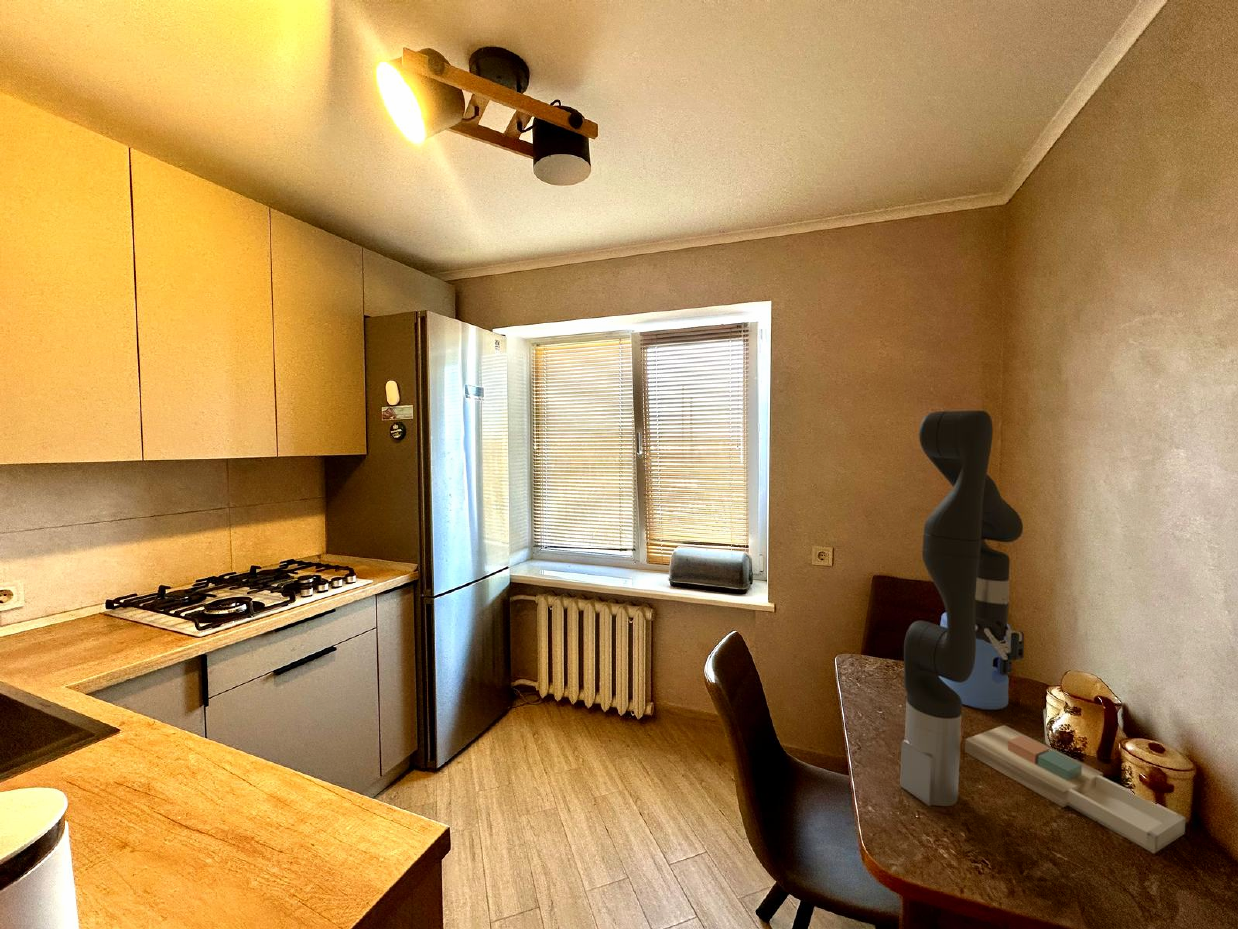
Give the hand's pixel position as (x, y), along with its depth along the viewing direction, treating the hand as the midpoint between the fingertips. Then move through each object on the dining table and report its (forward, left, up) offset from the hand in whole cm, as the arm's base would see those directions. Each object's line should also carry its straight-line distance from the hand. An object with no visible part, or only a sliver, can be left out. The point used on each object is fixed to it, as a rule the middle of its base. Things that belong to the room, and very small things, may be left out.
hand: (984, 666), depth 113 cm
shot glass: (+16, -8, -18) cm, 25 cm away
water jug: (+20, +14, -18) cm, 31 cm away
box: (0, -25, -18) cm, 31 cm away
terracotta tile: (0, -9, -15) cm, 18 cm away
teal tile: (0, -15, -15) cm, 21 cm away
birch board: (0, -10, -18) cm, 20 cm away
